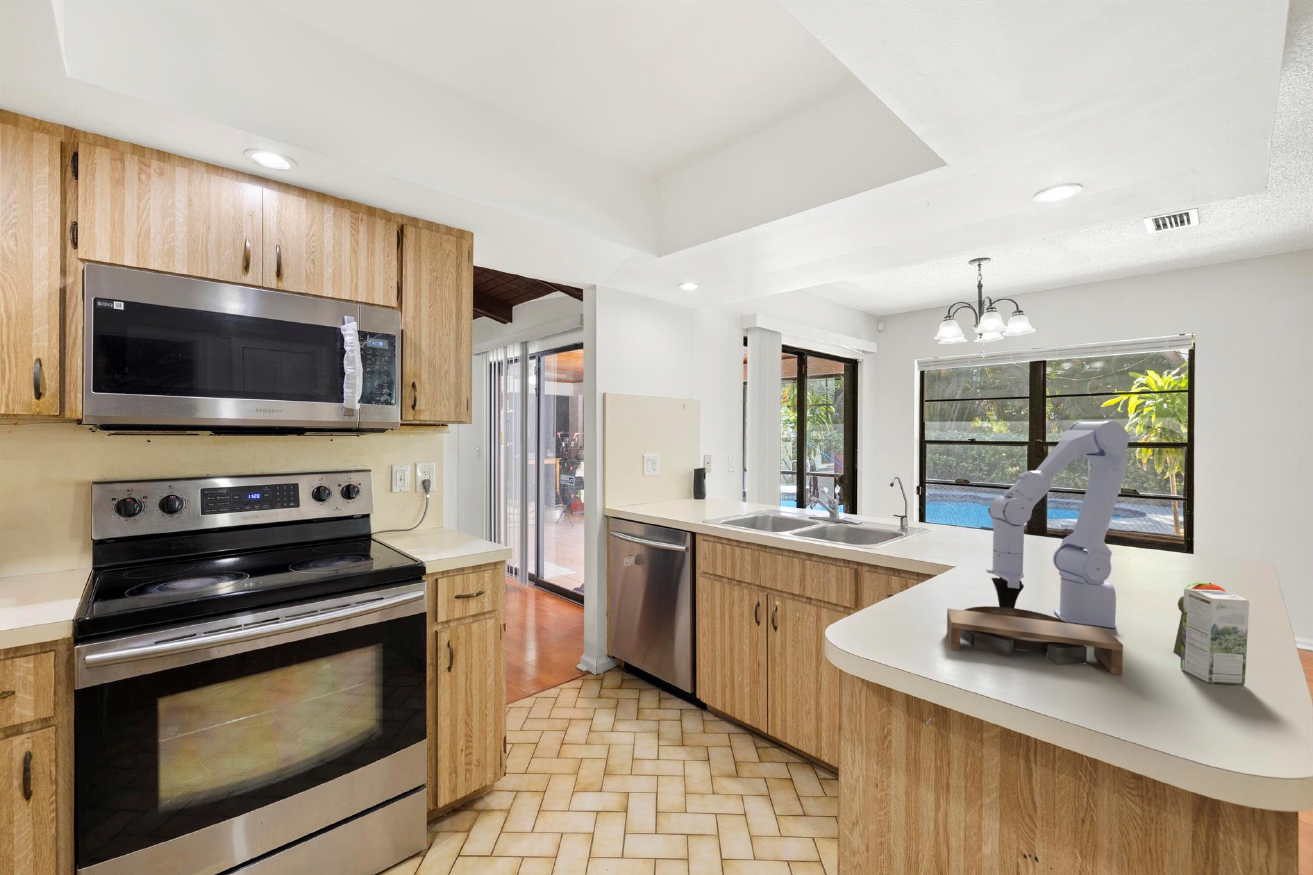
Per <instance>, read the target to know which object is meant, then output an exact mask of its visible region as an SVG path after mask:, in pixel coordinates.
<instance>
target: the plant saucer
mask: <svg viewBox="0 0 1313 875" xmlns="http://www.w3.org/2000/svg"><path fill="white" fill-rule="evenodd" d="M963 610H965V611H973V612H981V613H989V614H997V615H1005V616H1013V617H1021V618H1029V619H1037V620H1045V621H1053V622H1061V623H1069V624H1071V623H1070V622H1066V621H1064V620H1061V619H1060V618H1059V617H1055V616H1052V615H1050V614H1046V613H1041V612H1037V611H1032V610H1027V609H1022V608H1008V607H999V606H994V605H993V606H989V605H987V606H985V605H984V606H973V607H967V608H965V609H963ZM968 631H969V632H970V633H972V634H973V635H974V632H975V631H974V630H968ZM993 634H996V633H993ZM997 635H1000V636H1004V637H1007V638H1011V639H1013V650H1018V651H1024V652H1031V653H1047V647H1048V644H1058V643H1062V642H1055V641H1047V640H1040V639H1033V638H1025V637H1018V636H1011V635H1003V634H997Z"/></svg>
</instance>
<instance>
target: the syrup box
mask: <svg viewBox="0 0 1313 875" xmlns="http://www.w3.org/2000/svg"><path fill="white" fill-rule="evenodd" d="M1184 589H1185V588H1184ZM1184 589H1183V596H1184V602H1183V624H1182V645H1181V656H1180V666H1179V668H1180V669H1181V670H1182V671H1184V672H1186V673H1187V674H1191V675H1192V676H1194V677H1195V678H1198V679H1199V680H1202V681H1204V682H1206V683H1207V684H1220V685H1221V684H1222V685H1223V684H1224V685H1242V686H1244V685H1245V684H1246V669H1247V668H1246V667H1247V651H1248V650H1247V649H1248V635H1249V634H1248V632H1249V631H1248V630H1249V615H1250V614H1249V613H1250V601H1249V600H1248V599H1246V598H1243V597H1241V596H1239V595H1237V594H1233V593H1232V592H1227V591H1226V592H1224V591H1219V590H1195V589H1192V588H1190V589H1188V588H1186V589H1185V590H1184Z"/></svg>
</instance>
